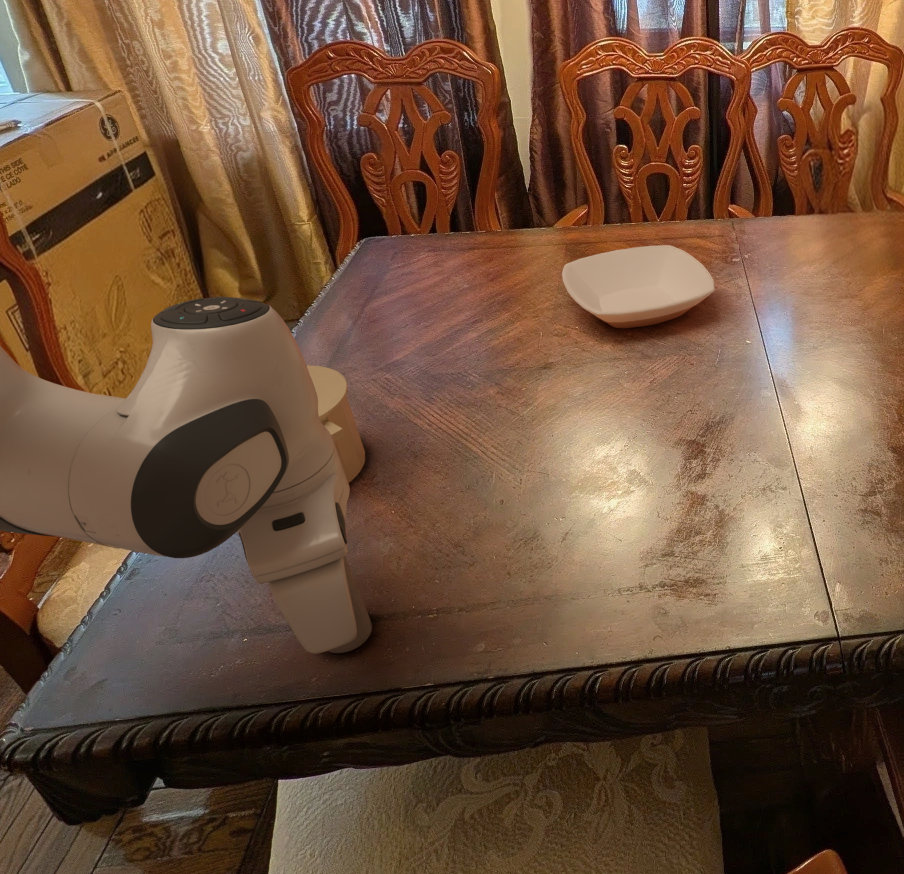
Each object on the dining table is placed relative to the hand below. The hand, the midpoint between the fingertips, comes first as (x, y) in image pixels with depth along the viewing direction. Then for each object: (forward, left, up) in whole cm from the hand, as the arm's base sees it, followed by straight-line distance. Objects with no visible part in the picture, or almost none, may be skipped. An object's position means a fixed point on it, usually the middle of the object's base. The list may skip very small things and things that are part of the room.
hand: (335, 606), depth 71 cm
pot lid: (+12, +25, +6) cm, 28 cm away
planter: (0, 0, -4) cm, 4 cm away
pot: (+12, +25, -4) cm, 28 cm away
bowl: (+65, +19, -4) cm, 68 cm away
